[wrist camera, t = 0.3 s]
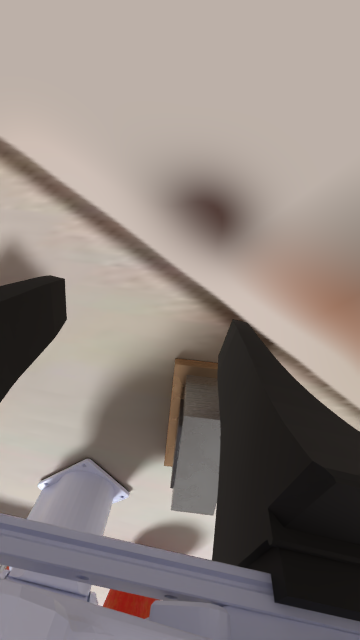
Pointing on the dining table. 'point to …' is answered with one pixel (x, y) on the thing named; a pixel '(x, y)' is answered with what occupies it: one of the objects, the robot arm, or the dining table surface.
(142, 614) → the apple
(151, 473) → the dining table surface
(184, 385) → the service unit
